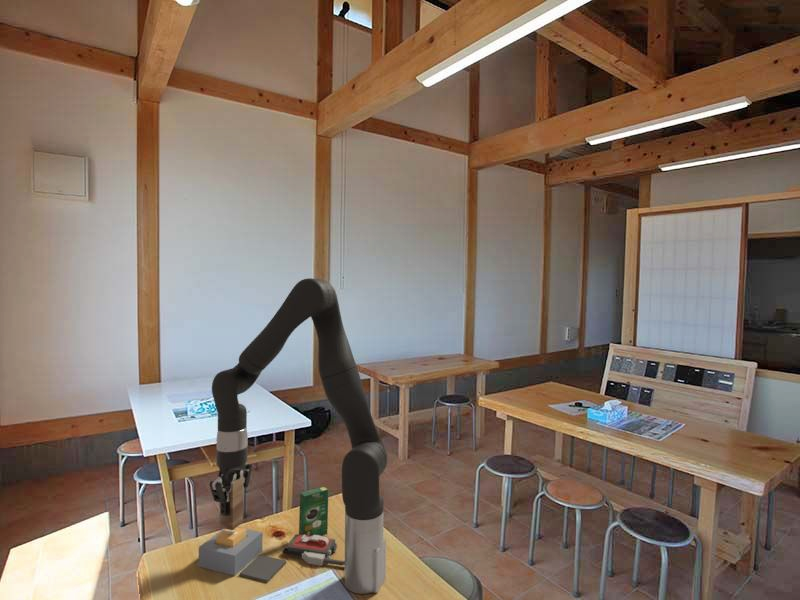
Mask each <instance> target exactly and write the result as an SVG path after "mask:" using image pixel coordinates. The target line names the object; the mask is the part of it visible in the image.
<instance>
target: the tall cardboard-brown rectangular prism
mask: <svg viewBox="0 0 800 600" xmlns="http://www.w3.org/2000/svg"><path fill="white" fill-rule="evenodd" d="M223 487H224V488H228V489H229V487H227V486H224V485H223ZM226 494H227V493H226V492H224V496H226ZM243 523H244V492H243V477H242V478H238V479H236V480H235V482H234V483H232V492H231V493H230V515H229V516H223V515H222V514H221V502H219V528H220V529H228V530H234V529H235V528H236V527H240V525H242V524H243Z"/></svg>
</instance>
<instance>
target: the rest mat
mask: <svg viewBox="0 0 800 600" xmlns="http://www.w3.org/2000/svg"><path fill="white" fill-rule="evenodd" d="M286 564H287V560H285V559H280V558H276V557H272V556H269V555H264V554H263V555H262V554H258V555H257V556H256V557H255V558H254V559H253V560H252V561H251V562H250V563H248V564H247V565H246V566H245V567H244V568H243V569H242V570H241V571H240V572H239V576H240V577H243V578H248V579H252V580H256V581H260V582H263V583H269V582H270V581H271V580H272V579H273V578H274V577H275V576H276V575H277V573H278V572H279V571H280V570H281V569H282V568H283V567H284V566H285V565H286Z"/></svg>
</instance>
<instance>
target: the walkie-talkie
mask: <svg viewBox="0 0 800 600" xmlns="http://www.w3.org/2000/svg"><path fill="white" fill-rule="evenodd" d="M337 547H338V544H337V543H336V539H335V538H329V537H328V536H326V535H321V536H320V535H313V536H308V535H305V534H304V535H301V534H299V533H298V534H297V533H296V534H295V535H294V536H293V537H292V538H291V540H290V541H289V542H288V543H287V547H284V548H283V549H282V553H283V554H285V555H287V556H289V557H294V558H301V559H303V561H304V562H305V563H307V564H308V565H314V566H319V567H323V565H324V564H325V565H328V564H330V565H337V566H345V560H339V559H332V558H331V555H332V553H335V552H336V551H337Z"/></svg>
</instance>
